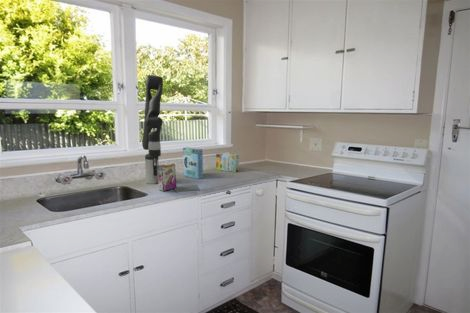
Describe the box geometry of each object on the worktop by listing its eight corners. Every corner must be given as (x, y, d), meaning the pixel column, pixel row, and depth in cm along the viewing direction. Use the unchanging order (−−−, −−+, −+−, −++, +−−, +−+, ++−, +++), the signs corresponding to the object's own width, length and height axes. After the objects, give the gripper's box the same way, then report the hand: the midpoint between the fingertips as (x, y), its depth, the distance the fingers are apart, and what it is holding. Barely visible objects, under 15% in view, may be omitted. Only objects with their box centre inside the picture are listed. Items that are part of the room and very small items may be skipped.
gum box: (203, 178, 237) (203, 149, 234) (197, 179, 234) (197, 149, 231) (188, 174, 251) (187, 147, 248) (183, 175, 248) (182, 147, 245)
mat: (173, 186, 210) (173, 185, 209) (196, 185, 214) (196, 184, 214) (175, 191, 195) (175, 190, 195) (199, 190, 199) (199, 189, 199)
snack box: (239, 171, 268) (239, 154, 266) (235, 172, 263) (235, 155, 261) (219, 169, 279) (219, 152, 277) (215, 170, 274) (215, 153, 272)
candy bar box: (163, 191, 195) (161, 166, 193) (158, 190, 198) (156, 165, 196) (177, 187, 204) (175, 163, 201) (172, 186, 207) (170, 162, 204)
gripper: (148, 147, 200) (149, 173, 202) (148, 149, 187) (148, 177, 189) (160, 147, 201) (161, 173, 204) (160, 149, 189) (161, 177, 191)
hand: (155, 175), depth 197 cm, fingers closed
